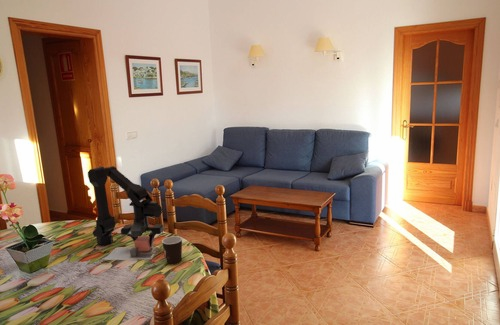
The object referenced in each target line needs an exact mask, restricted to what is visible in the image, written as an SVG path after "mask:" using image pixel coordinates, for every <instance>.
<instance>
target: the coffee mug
mask: <svg viewBox="0 0 500 325" xmlns="http://www.w3.org/2000/svg"><path fill="white" fill-rule="evenodd" d="M161 243H162V248H163V252H164V255H165V256H164V257H165V261H166V264H168V265H172V264H173V265H177V263H178V264H180V263H181V262H182V257H183V256H182V254H183V237H181V236H180V235H179V236H178V235H173V236H168V237H165V238H163V239H162V240H161ZM179 262H180V263H179ZM173 265H172V266H173Z"/></svg>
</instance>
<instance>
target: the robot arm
mask: <svg viewBox="0 0 500 325" xmlns="http://www.w3.org/2000/svg"><path fill="white" fill-rule="evenodd" d="M87 178H88V180H89V183H90V184H91V186H92V187H93V189H94V196H95V201H96V207H97V208H96V209H97V212H98V213H97V215H98V216H97V218H96V221H95V223H96V224H95V228H94V230H93V231H92V234H93V237H95V238H96V241H97V242H96V243H97V245H98V246H100V247H104V246H109V245H110V246H111V245H112V244H113V243H114V238H113V235H112V232H114V230H115V227H116V224H117V223H116V221H115V220H116V218H115V216H114V215H111V214H110V209H109V208H110V207H109V203H108V196H107V189H106V183H107V181H108V178H110V180H112V181H113V182H114V183H115V184H117V185H118V186H119V187H120V188H121V189H122V190H123V191H124V192H125V194H126V197H127V198H128V199H129V201H131V202H130V203H129V206H131V207H133V216H134V218H133V222H132V224H125V225H124V226H123V227H121V229H120V235H122V236H123V235H126V236H127V237H130V238H131V239H132V241H133V243H134V244H135V242H134V241H135V240H136V239H137V238H138V237H139V236H143V234H144V233H145V234H146V233H147V232H149V234H148V235H149V237H150V247H151V246H152V244H153V245H154V240H155V237H156V236H157V235H161V234H162V233H163V232H164V229H165V227H164V224H160V223H159V224H157V223H156V224H154V225H153V226H150V223H149V220H148V219H149V217H151V218H159V217H161V215H162V212H163V209H162V206H161V205H160V204H159V202H158V201H154V200H153V199H152V197H151V196H150V194H149V193H148V191H147V189H146V188H145V187H143V186H142V185H140V184H136V183H134V182H132V181H131V180H130V179H128V178H127V176H125V175H124V174H122V172H121V171H119V170H118V169H117V167H115V166H114V165H112V166H107V167H104V166H98V167H94V168H90V169H89V171H88V172H87ZM152 247H153V246H152Z"/></svg>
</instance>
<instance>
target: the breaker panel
mask: <svg viewBox="0 0 500 325" xmlns="http://www.w3.org/2000/svg"><path fill="white" fill-rule="evenodd" d="M132 248H135V246H134V247H133V246H131V247H130V246H128V247H125V246H124V247H120V246H119V247H118V246H116V247H115V248H114V249H113V250H112V251H111V252H110V253H108V255H107V256H106V257H105V258H104V259H103V260H104V261H110V260H111V261H114V260H115V261H121V260H127V261H128V260H130V261H131V260H132V261H133V260H134V261H135V260H137V261H139V260H153V258H154V257H155V256H156V254H157V253H158V252H159V251H160V249H161V246H159V245H156V246H152V248H151V249H150V250H149V251H138V253H139V254H138V255H137V256H136V257H131V255H130V250H131V249H132Z"/></svg>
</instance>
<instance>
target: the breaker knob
mask: <svg viewBox="0 0 500 325" xmlns="http://www.w3.org/2000/svg"><path fill="white" fill-rule="evenodd" d="M138 254H139V253H138V247H137V248H132V249H131V250H130V255H131V257H136V256H137V255H138Z"/></svg>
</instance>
